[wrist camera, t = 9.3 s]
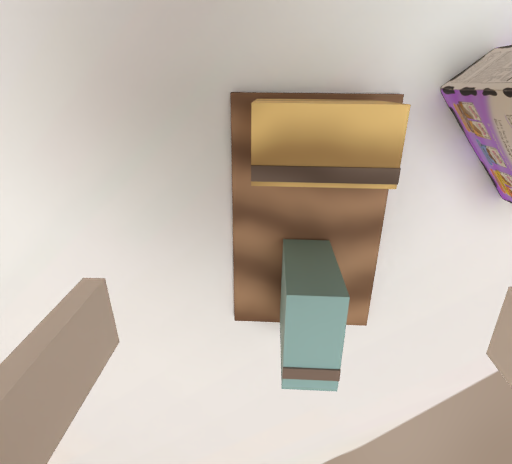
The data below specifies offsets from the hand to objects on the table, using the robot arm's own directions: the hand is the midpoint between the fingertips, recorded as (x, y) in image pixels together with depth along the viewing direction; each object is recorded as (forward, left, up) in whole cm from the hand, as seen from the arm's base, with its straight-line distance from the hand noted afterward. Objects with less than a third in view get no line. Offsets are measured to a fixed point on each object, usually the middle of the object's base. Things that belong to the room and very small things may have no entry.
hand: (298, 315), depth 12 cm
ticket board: (+6, +3, -26) cm, 27 cm away
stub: (+13, +3, -25) cm, 28 cm away
